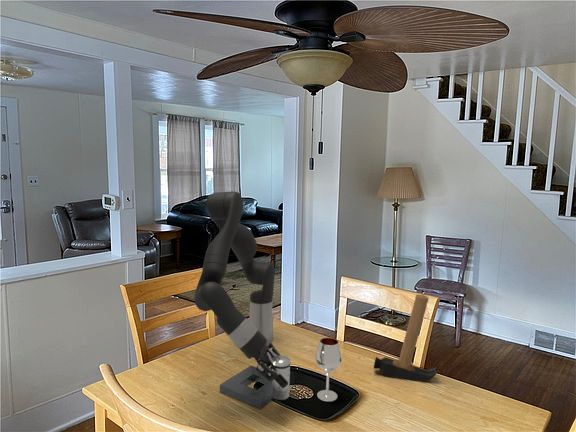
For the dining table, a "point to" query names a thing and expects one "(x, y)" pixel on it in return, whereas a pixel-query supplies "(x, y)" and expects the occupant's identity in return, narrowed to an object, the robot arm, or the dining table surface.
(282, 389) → the cylinder
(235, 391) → the grey square frame
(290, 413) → the dining table surface
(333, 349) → the wineglass
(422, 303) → the hammer
